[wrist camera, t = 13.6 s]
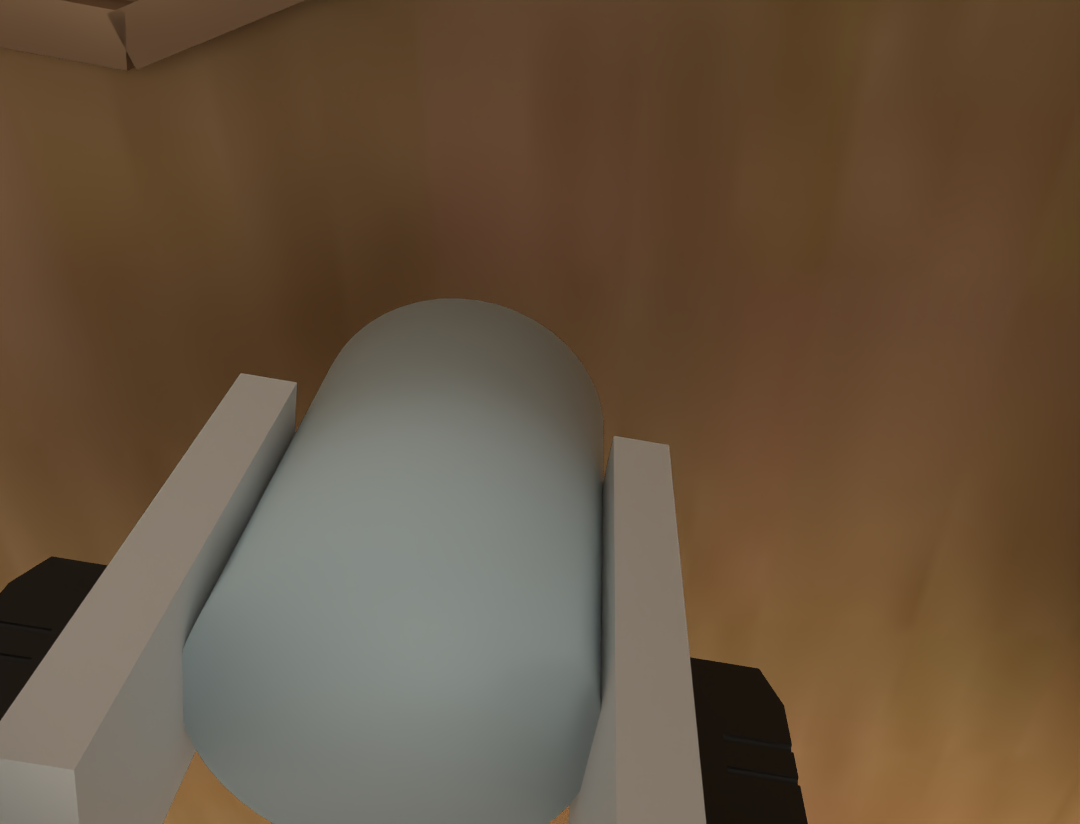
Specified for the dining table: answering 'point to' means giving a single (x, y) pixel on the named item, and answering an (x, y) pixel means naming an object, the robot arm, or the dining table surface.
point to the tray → (123, 27)
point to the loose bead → (416, 587)
